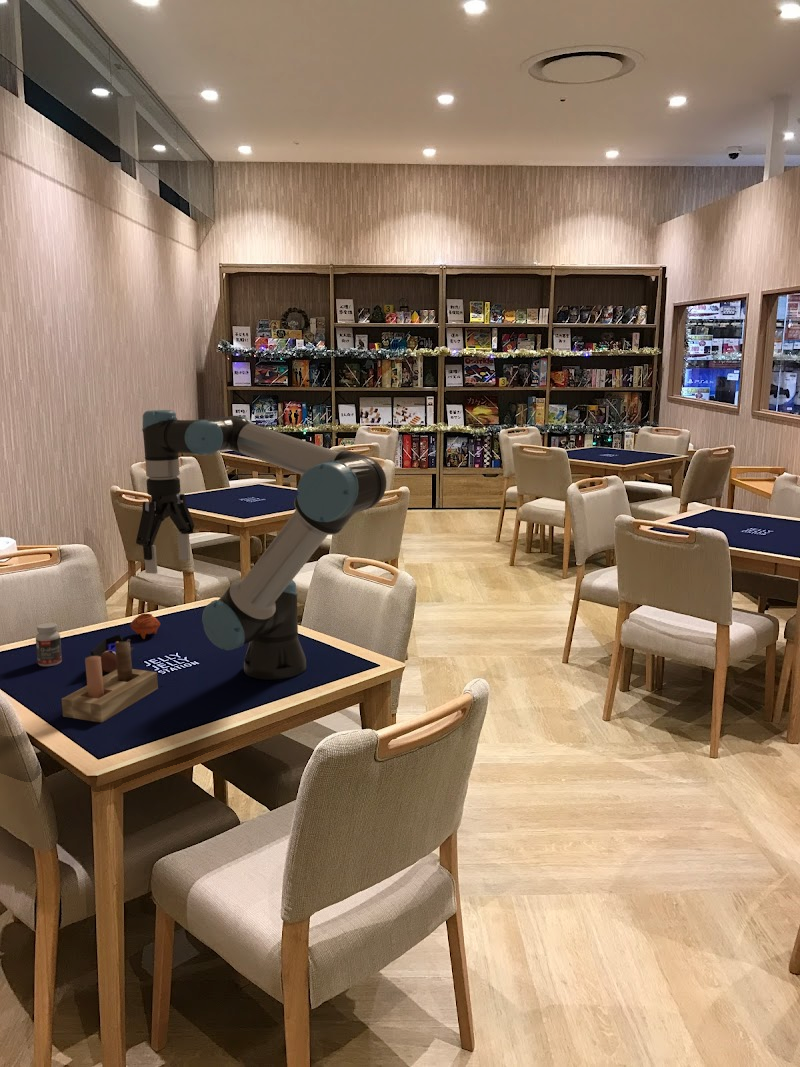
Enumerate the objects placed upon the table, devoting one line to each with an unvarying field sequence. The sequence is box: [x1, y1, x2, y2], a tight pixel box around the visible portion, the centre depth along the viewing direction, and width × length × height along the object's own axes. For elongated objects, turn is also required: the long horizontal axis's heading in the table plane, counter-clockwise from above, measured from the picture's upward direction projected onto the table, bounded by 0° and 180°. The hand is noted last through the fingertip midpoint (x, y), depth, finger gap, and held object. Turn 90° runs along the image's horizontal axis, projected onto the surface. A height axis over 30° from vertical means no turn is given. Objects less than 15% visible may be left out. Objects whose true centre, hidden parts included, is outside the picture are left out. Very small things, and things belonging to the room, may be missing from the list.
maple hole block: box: [61, 668, 159, 723], centre depth 190 cm, size 10×20×4 cm, turn 161°
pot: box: [130, 613, 161, 640], centre depth 236 cm, size 8×8×7 cm
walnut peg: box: [115, 640, 133, 682], centre depth 194 cm, size 3×3×12 cm
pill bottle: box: [35, 622, 63, 667], centre depth 215 cm, size 6×6×10 cm
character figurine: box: [90, 633, 134, 677], centre depth 211 cm, size 8×7×15 cm
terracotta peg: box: [84, 655, 104, 699], centre depth 185 cm, size 3×3×12 cm
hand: (168, 566), depth 203 cm, fingers open, 13 cm apart
